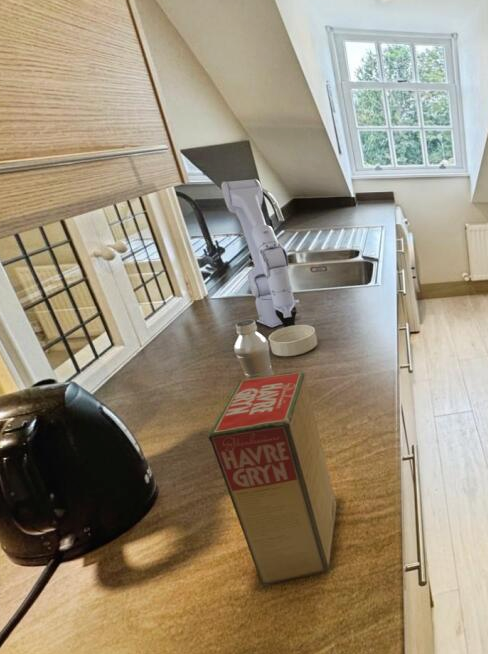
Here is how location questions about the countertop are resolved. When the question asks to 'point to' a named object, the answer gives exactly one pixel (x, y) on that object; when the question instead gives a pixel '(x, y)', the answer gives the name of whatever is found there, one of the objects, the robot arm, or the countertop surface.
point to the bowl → (293, 340)
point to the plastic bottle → (252, 350)
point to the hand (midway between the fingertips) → (290, 331)
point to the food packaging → (277, 476)
